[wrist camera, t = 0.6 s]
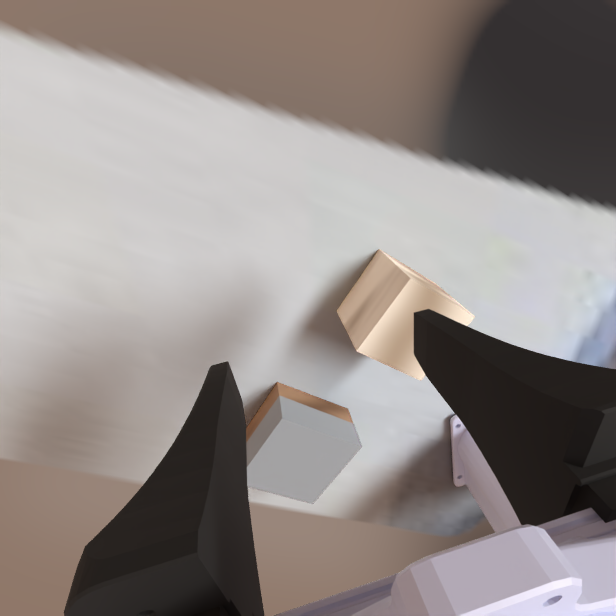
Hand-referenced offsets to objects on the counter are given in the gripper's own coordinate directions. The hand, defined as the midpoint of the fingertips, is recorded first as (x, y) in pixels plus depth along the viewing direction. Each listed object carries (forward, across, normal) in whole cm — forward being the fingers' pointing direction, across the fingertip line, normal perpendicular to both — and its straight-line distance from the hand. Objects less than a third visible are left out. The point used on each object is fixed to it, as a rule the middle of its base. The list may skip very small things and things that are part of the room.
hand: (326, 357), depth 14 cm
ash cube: (+10, -6, +4) cm, 12 cm away
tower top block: (+8, +2, +14) cm, 16 cm away
